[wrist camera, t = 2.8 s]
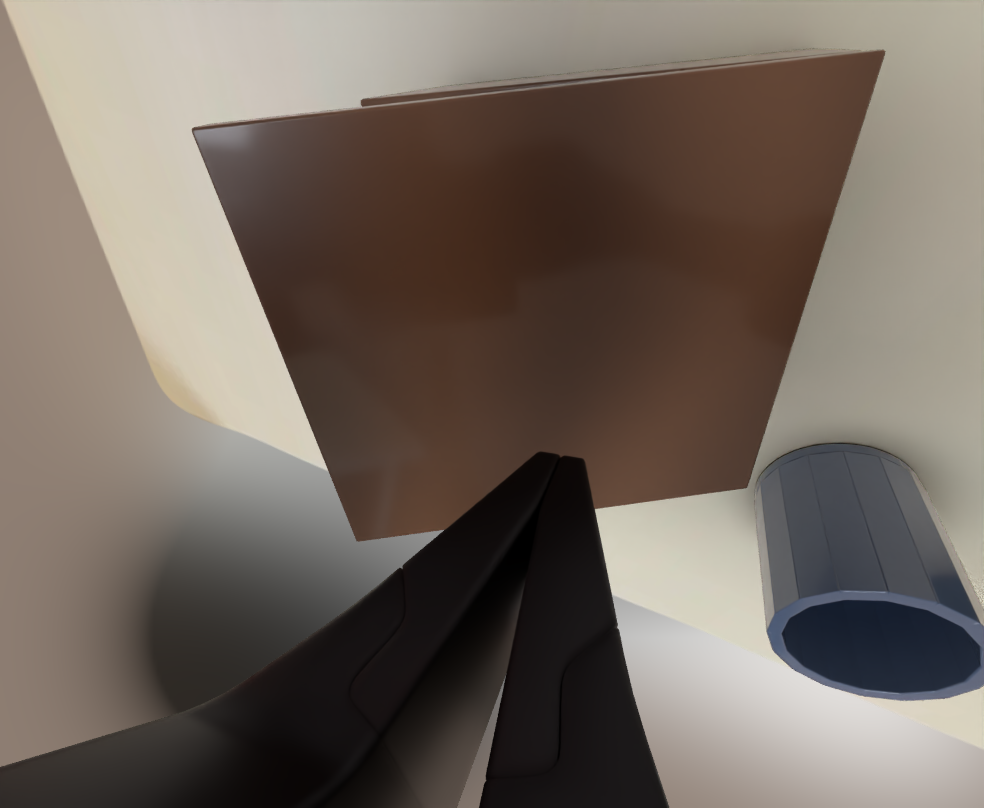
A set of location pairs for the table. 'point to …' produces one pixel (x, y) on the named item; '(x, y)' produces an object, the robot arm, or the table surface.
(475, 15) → the table surface
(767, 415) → the box lid
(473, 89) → the box
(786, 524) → the cup
